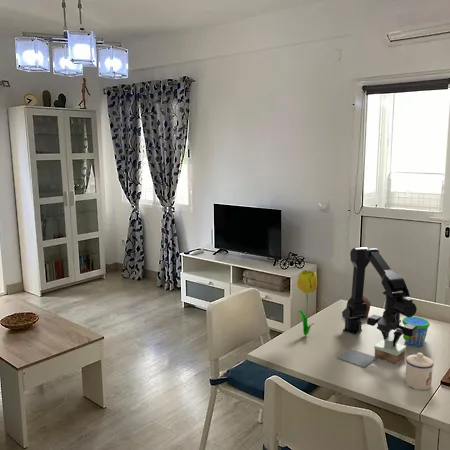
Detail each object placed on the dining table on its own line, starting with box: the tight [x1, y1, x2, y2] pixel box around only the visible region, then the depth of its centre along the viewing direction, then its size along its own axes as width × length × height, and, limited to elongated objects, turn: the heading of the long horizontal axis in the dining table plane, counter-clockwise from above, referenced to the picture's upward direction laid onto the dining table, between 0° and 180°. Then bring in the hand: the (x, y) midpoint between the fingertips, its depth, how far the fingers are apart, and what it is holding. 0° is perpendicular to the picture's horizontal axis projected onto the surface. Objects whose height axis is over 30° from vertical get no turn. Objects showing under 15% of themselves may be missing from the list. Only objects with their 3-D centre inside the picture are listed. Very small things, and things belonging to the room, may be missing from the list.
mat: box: [336, 348, 379, 369], centre depth 184 cm, size 12×11×1 cm
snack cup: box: [401, 316, 430, 347], centre depth 197 cm, size 16×10×10 cm
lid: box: [373, 335, 407, 356], centre depth 184 cm, size 9×8×4 cm
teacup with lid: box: [404, 352, 434, 391], centre depth 165 cm, size 12×9×12 cm
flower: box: [296, 269, 318, 336], centre depth 203 cm, size 9×8×30 cm
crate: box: [374, 349, 406, 365], centre depth 185 cm, size 9×8×4 cm
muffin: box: [361, 295, 372, 320], centre depth 229 cm, size 12×11×10 cm
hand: (390, 345), depth 185 cm, fingers closed on lid, 3 cm apart
